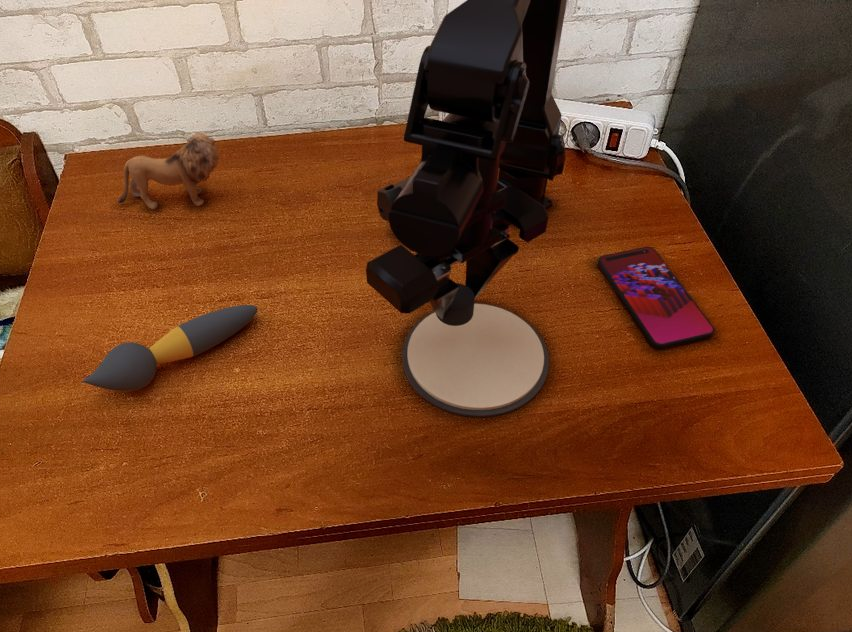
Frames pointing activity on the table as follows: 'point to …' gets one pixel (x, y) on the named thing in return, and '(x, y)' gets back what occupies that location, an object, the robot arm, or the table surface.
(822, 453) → the table surface
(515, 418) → the table surface
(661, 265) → the smartphone
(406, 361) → the face circle
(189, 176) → the lion figurine
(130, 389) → the paintbrush
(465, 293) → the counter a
